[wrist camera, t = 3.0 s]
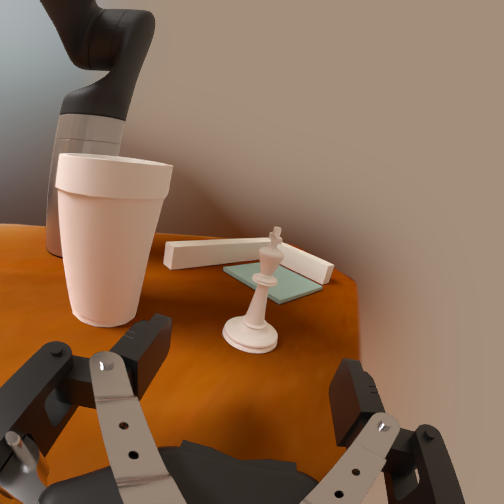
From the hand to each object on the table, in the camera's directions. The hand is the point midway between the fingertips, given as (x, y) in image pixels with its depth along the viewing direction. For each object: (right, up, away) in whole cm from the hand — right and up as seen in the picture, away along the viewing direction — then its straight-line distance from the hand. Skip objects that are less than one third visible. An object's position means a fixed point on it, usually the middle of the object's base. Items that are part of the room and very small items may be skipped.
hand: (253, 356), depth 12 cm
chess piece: (0, -3, +12) cm, 13 cm away
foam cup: (-13, 0, +11) cm, 17 cm away
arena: (0, +1, +27) cm, 27 cm away
